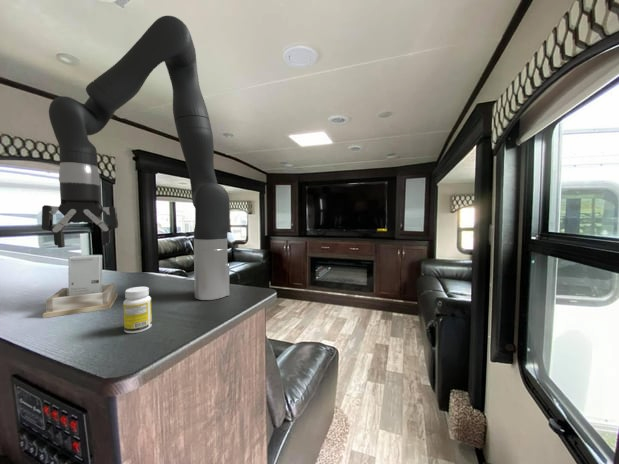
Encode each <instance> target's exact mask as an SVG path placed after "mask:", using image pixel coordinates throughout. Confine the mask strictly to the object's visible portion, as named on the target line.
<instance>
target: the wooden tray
mask: <svg viewBox="0 0 619 464" xmlns="http://www.w3.org/2000/svg"><path fill="white" fill-rule="evenodd" d="M115 285H116V283H114V282H113V283H111V282H110V283H102V293H94V294H85V295H76V296H69V287H62V288H61V289H60V290H58V291H57V292H55V293H54V294H52V295H51V296H50V297H47V299H45V303H46V304H45V305H46V308H45V309H46V310H45V311H44V312H43V313H42V319H45V318H54V317H61V316H68V315H74V314H82V313H90V312H98V311H104V310H105V311H106V310H111V308H112V307H113V305H114V303H115V301H116V300H117V298H118V292H116V286H115Z"/></svg>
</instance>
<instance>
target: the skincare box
mask: <svg viewBox="0 0 619 464" xmlns="http://www.w3.org/2000/svg"><path fill="white" fill-rule="evenodd" d="M102 284H103V255H102V254H83V255H72V256H70V257H68V288H69V296H76V295H85V294H94V293H102Z"/></svg>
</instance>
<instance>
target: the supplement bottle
mask: <svg viewBox="0 0 619 464" xmlns="http://www.w3.org/2000/svg"><path fill="white" fill-rule="evenodd" d="M124 292H125V293H124V297H125V299H124V300H123V302H122V304H123V326H124V327H123V329H124V330H123V331H124V332H125V333H127V334H138V333H142V332H145V331H147V330H149V329H150V328H152V326H153V315H152V297H151V296H150V295H149V293H150V288H149V287H148V286H135V287H134V286H133V287H129V288H126V290H125V291H124Z"/></svg>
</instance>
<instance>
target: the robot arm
mask: <svg viewBox="0 0 619 464" xmlns="http://www.w3.org/2000/svg"><path fill="white" fill-rule="evenodd" d="M193 41H194V40H193V38H192V35H191V32H190V30H189V28H188V26H187V25H186V24H185V23H184V22H183V20H182V19H180V18H179V17H176V16H173V15H163V16H160V17H158V18H157V19H156V20H155V21H153V23H152V24H151V25H150V26H149V27H148V28H147V29H146V31H145V32H144V33H143V34H142V36H141V37H140V38H139V39H138V40H137V41H136V42H135V43H134V44H133V45H132V46H131V47H130V49H129V50H128V51H127V52H126V53H125V54H124V55H123V56H122V57H121V58H120V59H119V60H118V61H116V63H114V64H113V65H112V66H111V67H109V69H107V70H106V71H104V72H103V73H102V74H101V75H99V76H97V78H95V79H94V80H93V81H91V82H89V83H88V84H87V86H85V92H86V94H87V95H88V99H87V100H86V101H85V102H84V104H83V103H81V102H80V101H78V100H76V99H74V98H72V97H68V96H63V95H62V96H58V97H56V98H54V99H53V100H52V101H51V103H50V104H49V108H48V116H49V120H50V121H49V122H50V125H51V127H52V130H53V133H54V137H55V139H56V141H57V144H58V147H59V148H58V149H59V153H58V155H59V162H60V163H59V169H58V181H59V194H60V195H59V196H60V204H59V206H54V205H47V204H46V205H45V204H44V205H43V206H42V208H41V229H42V230H44V231H49V232H52V233H53V244H54V245H55V246H57V248H58V249H60V248H65V246H66V245H65V244H66V243H65V242H66V241H65V232H63V231H64V230H65V229H66V228H67V227H68V226H69V225H70V224H71V223H73V224H81V223H86V224H87V223H89V224H90V223H91V224H92V223H94V224H95V225H96V226H98V227H99V228H100V230H102V231H101V237H102V239H101V240H102V246H108V245H109V244H110V242H111V231H112V230H116V229H118V228H119V222H118V221H119V220H118V213H117V207H115V206H102V204H101V203H102V202H101V182H100V181H101V180H100V179H101V178H100V172H99V167H98V152H97V148H96V146H95V145H94V144H93V143H92V142H91V141H90V140H89V136H92V135H96V134H97V133H99V132H101V131H102V130H103V129H104V128H105V127H106V125H107V124H108V122H110V121H111V119H112V118H113V116H114V113H116V112H117V110H118V109H120V108H122V107H123V106H124V105H125V104H127V103H128V102H129V101H131V100H132V99H133V98H134V97H135V96H136V95H137V94H138V93H139V92H140V90H141V89H142V87H143V85H144V84H145V82H146V81H147V79H148V77H149V76H150V74H151V73H152V72H153V71H154V70H155V69H156V68H157V67H158V66H159V65H160V64H162V63H164V64H165V66H166V69H167V73H168V76H169V80H170V82H171V87H172V112H173V113H172V114H173V121H174V125H175V129H176V133H177V137H178V141H179V143H180V148H181V151H182V155H183V158H184V161H185V164H186V167H187V171H188V175H189V182H190V183H189V184H190V191H191V201H192V204H193V207H194V210H195V211H194V213H195V216H194V217H195V219H194V220H195V223H194V228H193V229H194V230H193V262H194V263H193V264H194V265H193V268H194V270H193V271H194V274H193V275H194V279H193V280H194V281H193V283H194V298H195V299H197V300H200V301H212V300H218V299H221V298H224V297H229V296H230V264H229V263H228V234H229V228H230V212H231V211H230V209H231V208H230V202H231V201H230V196H229V192H227V190H226V189H225V187H224V186H222V185H221V184H218V180H217V177H216V172H215V166H214V165H215V164H214V163H215V161H214V155H215V153H214V150H215V149H214V146H215V145H214V136H213V130H212V126H211V125H212V124H211V120H210V116H209V113H208V108H207V105H206V102H205V100H204V97H203V93H202V91H201V86H200V82H199V74H198V65H197V63H198V62H197V53H196V48H195V44H194V42H193ZM57 212H60V213H61V214H62V215H63V217H62V218H61V219H60V220H59V221H58V222H57V224H56V225H54V215H57ZM103 212H105V213H106V215H108V216H109V219H110V225H108V224H107V223H106V222H105V221H104V220H103V219H102V218H101V217H100V216H101V215H102V213H103Z"/></svg>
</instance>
